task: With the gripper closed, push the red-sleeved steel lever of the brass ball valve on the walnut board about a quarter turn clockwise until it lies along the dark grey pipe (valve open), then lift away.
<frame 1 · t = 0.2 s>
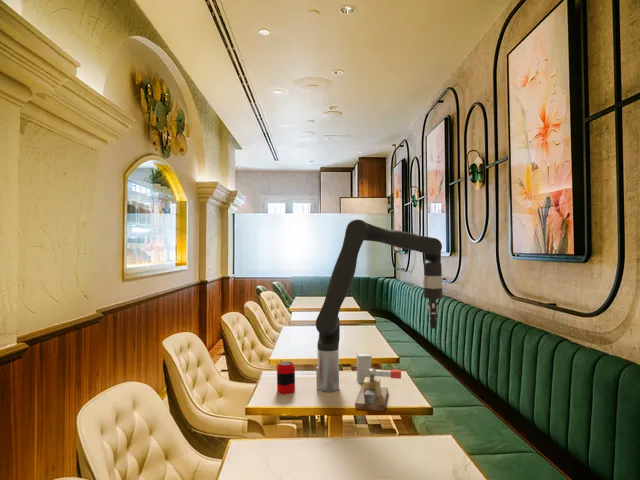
hand: (433, 326, 170), 29 cm above the table, fingers open, 8 cm apart
soda can: (286, 391, 177), on the table
valve lever: (384, 373, 166), point 11 cm above the table, hinge at 0.0°
skincare box: (364, 381, 189), on the table
valve stand: (372, 399, 167), on the table
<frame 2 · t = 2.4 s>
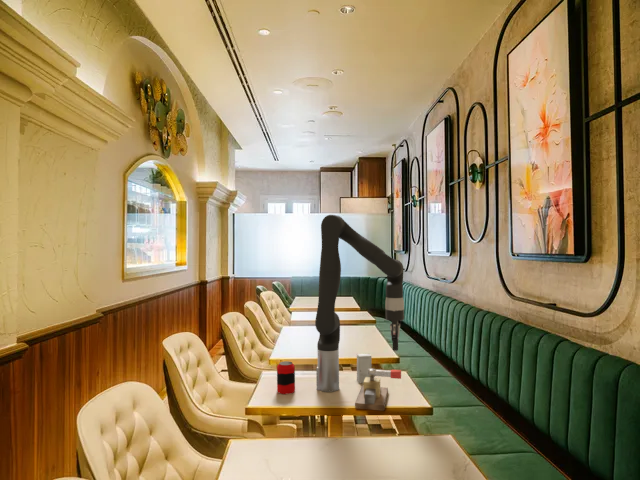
hand: (395, 350, 171), 19 cm above the table, fingers closed
nothing on the table moved.
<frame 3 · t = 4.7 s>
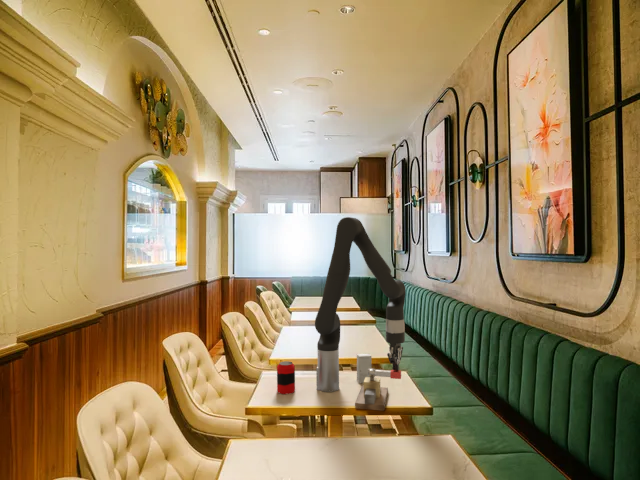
hand: (395, 372, 167), 11 cm above the table, fingers closed
valve lever: (384, 373, 165), point 11 cm above the table, hinge at -1.7°, touching gripper
everything else where it was.
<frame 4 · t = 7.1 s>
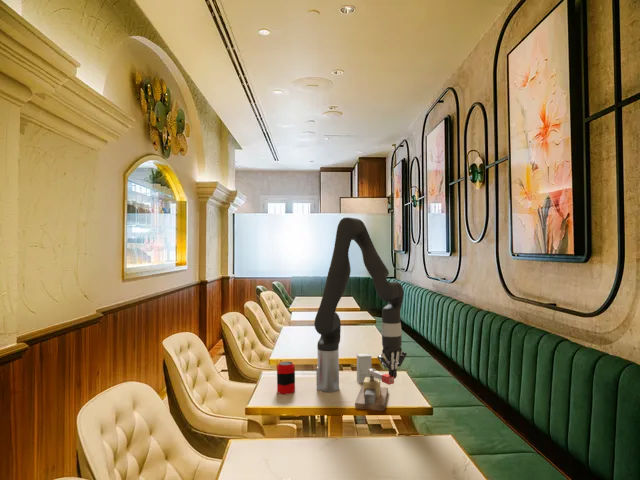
hand: (392, 378, 161), 11 cm above the table, fingers closed
valve lever: (380, 375, 163), point 11 cm above the table, hinge at -44.0°, touching gripper
everything else where it was.
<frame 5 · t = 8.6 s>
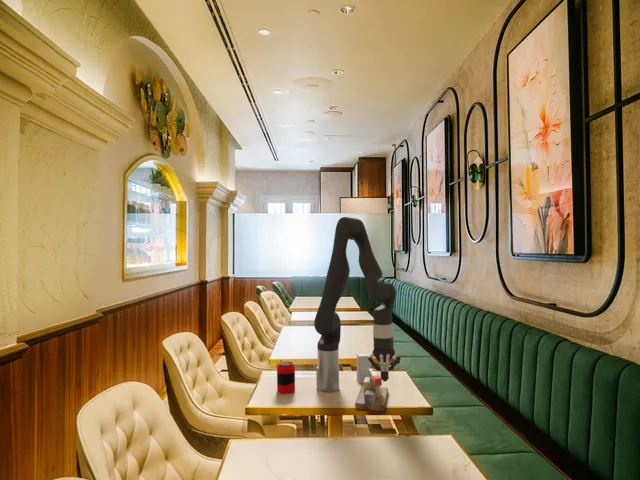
hand: (384, 380, 158), 11 cm above the table, fingers closed
valve lever: (374, 376, 162), point 11 cm above the table, hinge at -71.8°, touching gripper
everything else where it was.
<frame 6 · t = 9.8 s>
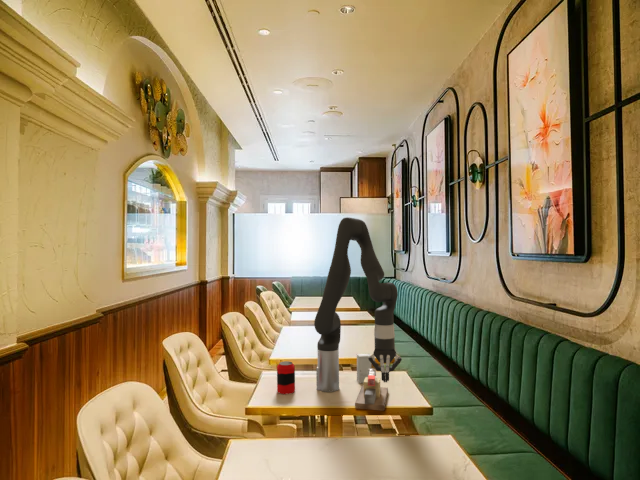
hand: (385, 381, 157), 11 cm above the table, fingers closed
valve lever: (371, 376, 162), point 11 cm above the table, hinge at -84.7°
everything else where it was.
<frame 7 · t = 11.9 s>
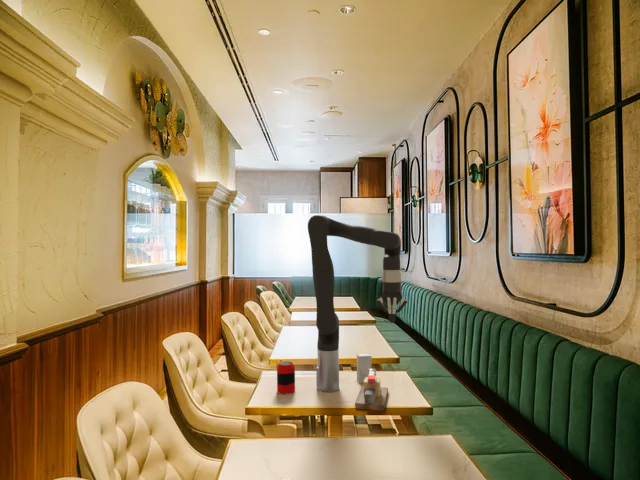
hand: (392, 322, 172), 30 cm above the table, fingers closed
nothing on the table moved.
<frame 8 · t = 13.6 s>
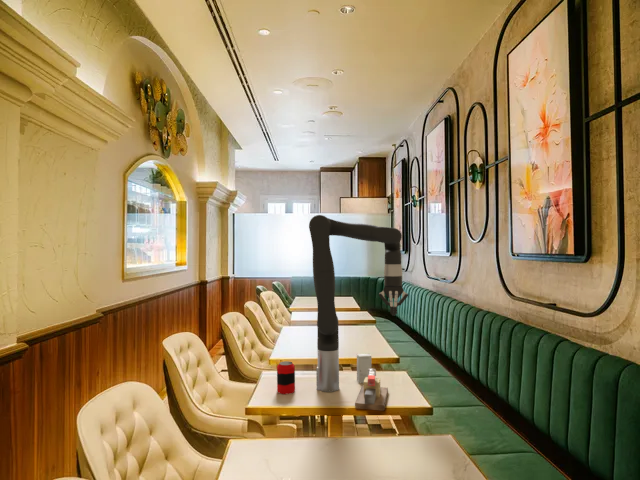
hand: (393, 315, 177), 32 cm above the table, fingers closed
nothing on the table moved.
at the end: valve lever at -85° (first picture: +0°); skincare box moved 0.2 cm from its start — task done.
